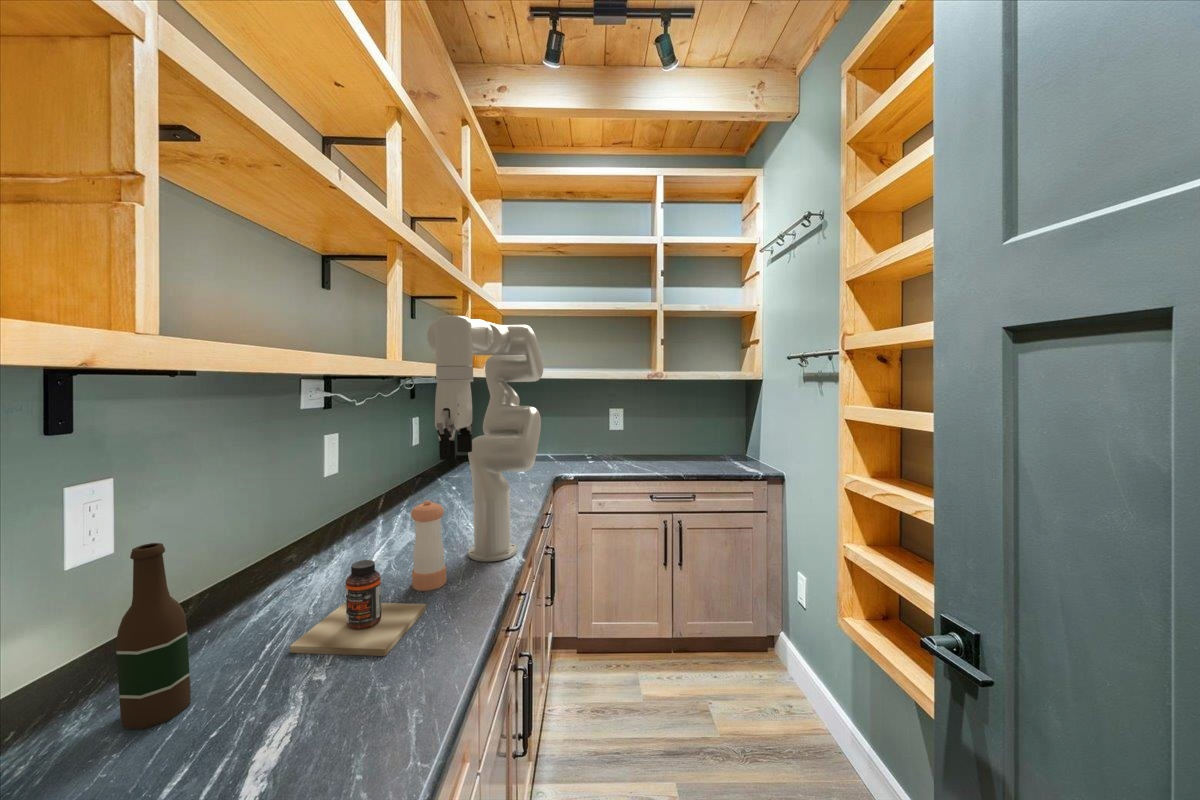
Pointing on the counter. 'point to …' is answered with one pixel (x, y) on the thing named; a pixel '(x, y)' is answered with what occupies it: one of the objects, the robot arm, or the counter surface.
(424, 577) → the pepper shaker
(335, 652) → the birch board
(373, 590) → the supplement bottle
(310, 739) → the counter surface
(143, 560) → the beer bottle
